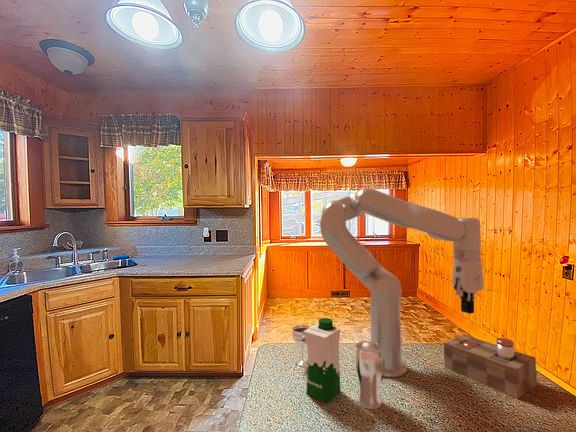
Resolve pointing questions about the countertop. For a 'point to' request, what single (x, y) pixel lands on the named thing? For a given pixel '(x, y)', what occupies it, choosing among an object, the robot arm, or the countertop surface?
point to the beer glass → (369, 374)
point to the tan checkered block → (491, 366)
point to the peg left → (470, 344)
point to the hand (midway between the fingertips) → (467, 312)
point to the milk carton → (323, 360)
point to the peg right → (505, 349)
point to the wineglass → (300, 339)
